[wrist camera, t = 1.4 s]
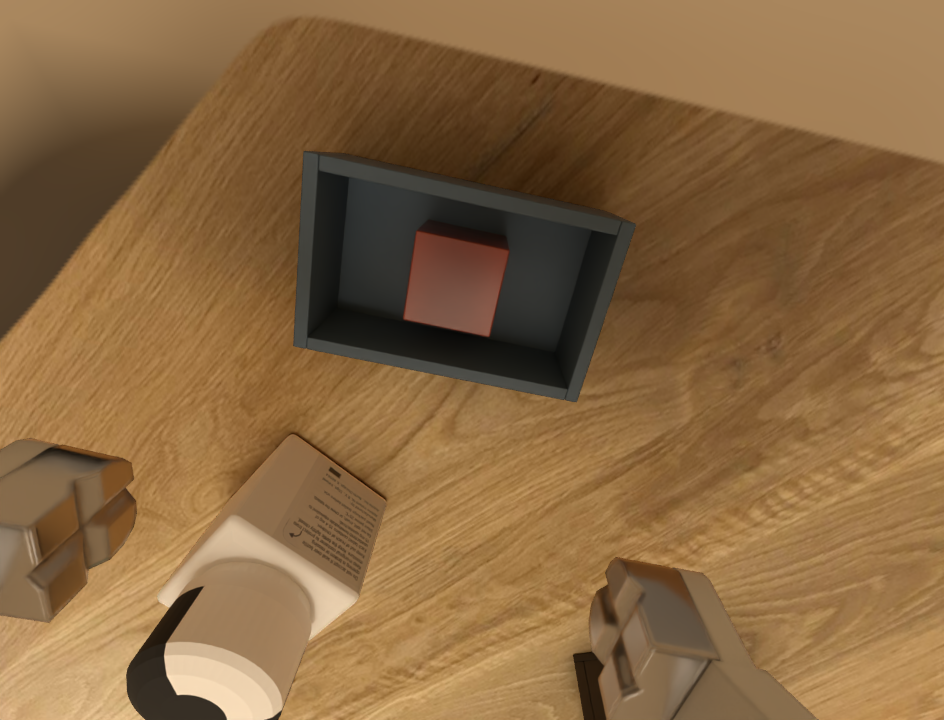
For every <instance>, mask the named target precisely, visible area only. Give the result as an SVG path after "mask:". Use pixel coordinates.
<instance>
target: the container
mask: <svg viewBox="0 0 944 720" xmlns="http://www.w3.org/2000/svg"><path fill="white" fill-rule="evenodd" d="M385 508H386V500H385V499H384V498H382V497H381V496H379V495H378V494H377V493H375V492H374V491H373V490H371V489H370V488H368V487H367V486H366V485H364V484H363V483H362V482H360V481H359V480H357V479H356V478H355V477H353V476H352V475H351V474H349V473H348V472H346V471H345V470H344V469H342V468H341V467H340V466H338V465H337V464H335V463H334V462H333V461H331V460H330V459H329V458H327V457H326V456H324V455H323V454H322V453H320V452H319V451H318V450H316V449H315V448H313V447H312V446H311V445H309V444H308V443H307V442H305V441H304V440H302V439H301V438H300V437H298V436H297V435H295V434H291V435H289V436H288V437H287V438H286V439H285V440H284V441H283V442H282V443H281V444H280V445H279V446H278V447H277V448H276V450H275V451H274V452H273V453H272V454H271V455H270V456H269V457H268V458H267V459H266V460H265V462H264V463H263V464H262V465H261V466H260V467H259V468H258V469H257V470H256V471H255V472H254V474H253V475H252V476H251V477H250V478H249V479H248V480H247V481H246V482H245V483H244V484H243V486H242V487H241V488H240V489H239V490H238V491H237V492H236V493H235V494H234V495H233V496H232V497H231V499H230V500H229V501H228V502H227V503H226V505H225V506H224V507H223V509H222V510H221V511H220V512H219V514H218V515H217V516H216V518H215V519H214V520H213V522H212V523H211V524H210V525H209V527H208V528H207V529H206V531H205V532H204V533H203V535H202V536H201V537H200V538H199V540H198V541H197V542H196V544H195V545H194V546H193V548H192V549H191V550H190V551H189V553H188V554H187V555H186V557H185V558H184V559H183V561H182V562H181V563H180V565H179V566H178V567H177V568H176V570H175V571H174V572H173V574H172V575H171V576H170V578H169V579H168V580H167V581H166V583H165V584H164V585H163V587H162V588H161V589H160V591H159V593H158V595H157V598H158V601H159V602H160V603H162V604H164V605H166V606H167V607H169V610H168V611H167V612H166V614H165V615H164V617H163V618H162V619H161V621H160V622H159V624H158V625H157V626H156V628H155V629H154V631H153V632H152V633H151V635H150V636H149V638H148V639H147V640H146V642H145V643H144V645H143V646H142V647H141V649H140V650H139V652H138V653H137V654H136V656H135V657H134V659H133V660H132V661H131V663H130V665H129V667H128V669H127V674H126V679H127V693H128V697H129V699H130V701H131V703H132V705H133V706H134V708H135V709H136V711H137V712H138V713H139V714H140V715H141V716H142V717H143V718H144V719H145V720H278V719H279V717H280V715H281V712H282V710H283V707H284V704H285V702H286V699H287V696H288V694H289V691H290V689H291V686H292V683H293V681H294V678H295V675H296V673H297V670H298V667H299V665H300V662H301V659H302V657H303V654H304V651H305V649H306V646H307V643H308V641H309V640H311V639H312V638H313V637H314V636H316V635H317V634H318V633H319V632H320V631H322V630H323V629H324V628H325V627H327V626H328V625H329V624H330V623H331V622H333V621H334V620H335V619H336V618H337V617H339V616H340V615H341V614H342V613H344V612H345V611H346V610H347V609H348V608H350V607H351V606H352V605H353V604H354V603H356V601H357V599H358V598H359V595H360V592H361V588H362V585H363V582H364V578H365V575H366V572H367V568H368V565H369V562H370V558H371V555H372V552H373V548H374V545H375V542H376V538H377V535H378V531H379V528H380V525H381V521H382V518H383V515H384V511H385Z"/></svg>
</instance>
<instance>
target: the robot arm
mask: <svg viewBox="0 0 944 720" xmlns="http://www.w3.org/2000/svg"><path fill="white" fill-rule="evenodd" d="M133 480H134V476H133V469H132V463H131V462H129V461H127V460H125V459H123V458H119V457H115V456H110V455H106V454H102V453H97V452H93V451H88V450H84V449H79V448H75V447H71V446H66V445H58V444H54V443H49V442H45V441H41V440H37V439H32V438H29V439H23V440H17V441H15V442H13V443H11V444H9V445H8V446H6V447H4V448H3V449H1V450H0V615H1V616H8V617H15V618H21V619H28V620H34V621H41V622H48V623H49V622H50V621H51V620H52V619H53V618H54V617H55V616H56V615H57V614H58V613H59V612H60V611H61V610H62V609H63V608H64V607H65V606H66V605H67V604H68V603H69V602H70V601H71V600H72V599H73V598H74V597H75V596H76V595H77V594H78V592H79V591H80V590H81V589H82V588H83V587H84V586H85V585H86V584H87V581H88V571H89V569H91V568H93V567H95V566H97V565H99V564H102V563H104V562H106V561H108V560H110V559H111V558H112V557H113V556H114V555H115V554H116V553H117V552H118V551H119V549H120V548H121V547H122V546H123V545H124V544H125V542H126V540H127V538H128V536H129V535H130V533H131V531H132V529H133V527H134V524H135V519H136V514H137V508H136V500H135V499H134V498H133V496H132V495H131V494H130V493H129V492H128V490H127V489H126V487H127V486H128V485H129V484H130V483H131V482H132V481H133ZM605 574H606V578H607V582H608V585H606V586H605V587H603V588H601V589H599V590H598V591H597V592H596V594H595V596H594V599H593V601H592V604H591V608H590V616H589V636H590V642H591V647H592V651H593V653H594V654H595V655H596V656H597V658H598V659H599V660H600V662H601V663H602V664H603V665H604V668H603V670H602V672H601V674H600V676H599V678H598V681H599V686H600V691H601V696H602V700H603V705H604V710H605V715H606V719H607V720H818V719H817V718H816V717H815V716H814V715H813V714H812V713H811V712H810V711H809V710H808V709H806V708H805V707H804V706H803V705H802V704H801V703H800V702H799V701H798V700H797V699H796V698H795V697H794V696H793V695H792V694H790V693H789V692H788V691H787V690H786V689H785V688H784V687H783V686H782V685H781V684H780V683H779V682H778V681H777V680H776V679H775V678H773V677H772V676H771V675H770V674H769V673H768V672H767V671H766V670H761V669H757V668H756V667H755V665H754V663H753V661H752V659H751V657H750V656H749V654H748V652H747V650H746V648H745V646H744V644H743V642H742V640H741V638H740V636H739V635H738V633H737V631H736V629H735V627H734V625H733V623H732V621H731V619H730V617H729V616H728V614H727V612H726V610H725V608H724V606H723V604H722V602H721V600H720V598H719V597H718V595H717V593H716V591H715V589H714V587H713V585H712V583H711V581H710V580H709V579H708V578H707V577H706V576H705V575H704V574H703V573H700V572H695V571H689V570H684V569H678V568H670V567H666V566H661V565H656V564H650V563H645V562H640V561H635V560H629V559H624V558H619V557H615V558H614V559H613V560H612V561H611V562H610V564H609V566H608V568H607V570H606V572H605Z"/></svg>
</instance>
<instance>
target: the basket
mask: <svg viewBox="0 0 944 720" xmlns="http://www.w3.org/2000/svg"><path fill="white" fill-rule="evenodd" d="M573 657H574V663H575V669H576V675H577V681H578V686H579V692H580V698H581V704H582V710H583V716H584V720H607V719H606V715H605V710H604V705H603V700H602V696H601V691H600V686H599V681H598V678H599V676H600V674H601V672H602V670H603V668H604V665H603V664H602V663H601V662H600V660H599V659H598V658H597V656H596V655H595V654H594V653H593V652H591V653H584V654H577V655H574V656H573Z"/></svg>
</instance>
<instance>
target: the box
mask: <svg viewBox="0 0 944 720" xmlns="http://www.w3.org/2000/svg"><path fill="white" fill-rule="evenodd" d="M427 220H434V221H438V222H443V223H448V224H452V225H457V226H462V227H466V228H471V229H476V230H480V231H485V232H490V233H494V234H499V235H504V236H506V237H507V241H508V246H509V250H510V253H509V257H508V262H507V266H506V270H505V274H504V279H503V283H502V287H501V291H500V296H499V300H498V304H497V308H496V313H495V317H494V321H493V326H492V330H491V334H490V336H489V337H485V336H481V335H476V334H471V333H466V332H461V331H456V330H451V329H446V328H441V327H436V326H431V325H427V324H422V323H417V322H412V321H407V320H404V319H403V313H404V307H405V300H406V294H407V287H408V280H409V274H410V267H411V260H412V254H413V247H414V241H415V234H416V231H417V230H418V229H419V228H420V227H421V226H422V225H423V224H424V223H425V222H426V221H427ZM635 227H636V224H635V223H633V222H631V221H628V220H626V219H624V218H621V217H619V216H617V215H614V214H612V213H609V212H607V211H604V210H599V209H595V208H590V207H585V206H581V205H576V204H572V203H567V202H563V201H558V200H554V199H549V198H544V197H540V196H535V195H531V194H526V193H522V192H517V191H513V190H508V189H504V188H499V187H494V186H490V185H485V184H481V183H476V182H472V181H467V180H463V179H458V178H454V177H449V176H444V175H440V174H435V173H431V172H426V171H422V170H417V169H413V168H408V167H403V166H399V165H394V164H390V163H385V162H381V161H376V160H372V159H367V158H363V157H358V156H353V155H349V154H344V153H331V152H315V151H304V154H303V173H302V192H301V211H300V230H299V249H298V268H297V287H296V306H295V325H294V344H293V346H295V347H300V348H305V349H306V348H307V349H310V350H315V351H320V352H325V353H330V354H335V355H340V356H345V357H350V358H355V359H360V360H365V361H370V362H375V363H380V364H385V365H390V366H395V367H400V368H405V369H410V370H415V371H420V372H426V373H431V374H436V375H441V376H446V377H451V378H456V379H461V380H466V381H471V382H476V383H481V384H486V385H491V386H496V387H501V388H506V389H511V390H516V391H521V392H526V393H531V394H536V395H541V396H546V397H551V398H556V399H561V400H564V399H565V400H567V401H572V402H577V400H578V397H579V394H580V391H581V388H582V385H583V382H584V379H585V376H586V373H587V370H588V367H589V364H590V361H591V358H592V355H593V352H594V349H595V346H596V343H597V340H598V337H599V334H600V331H601V328H602V325H603V322H604V319H605V316H606V313H607V310H608V307H609V305H610V302H611V299H612V296H613V293H614V290H615V287H616V284H617V281H618V278H619V275H620V272H621V269H622V266H623V263H624V260H625V257H626V254H627V251H628V248H629V245H630V242H631V239H632V236H633V233H634V230H635Z"/></svg>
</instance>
